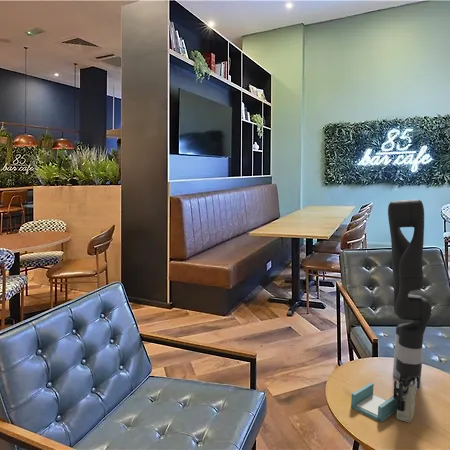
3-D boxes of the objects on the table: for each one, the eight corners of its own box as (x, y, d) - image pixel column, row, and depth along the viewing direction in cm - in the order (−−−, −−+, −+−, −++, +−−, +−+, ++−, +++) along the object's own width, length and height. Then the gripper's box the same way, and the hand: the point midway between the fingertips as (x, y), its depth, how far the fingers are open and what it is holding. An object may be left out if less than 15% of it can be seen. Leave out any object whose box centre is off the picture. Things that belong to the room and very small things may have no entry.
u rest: (369, 395, 150) (370, 382, 149) (399, 408, 142) (400, 395, 141) (350, 407, 142) (351, 393, 141) (381, 422, 134) (381, 407, 133)
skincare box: (410, 423, 133) (412, 388, 132) (395, 419, 136) (398, 383, 134) (414, 414, 138) (417, 380, 137) (400, 410, 141) (402, 376, 139)
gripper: (408, 348, 142) (405, 394, 144) (387, 360, 132) (383, 409, 135) (431, 355, 136) (427, 403, 138) (410, 368, 127) (406, 419, 129)
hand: (405, 406), depth 136 cm, fingers closed on skincare box, 7 cm apart
